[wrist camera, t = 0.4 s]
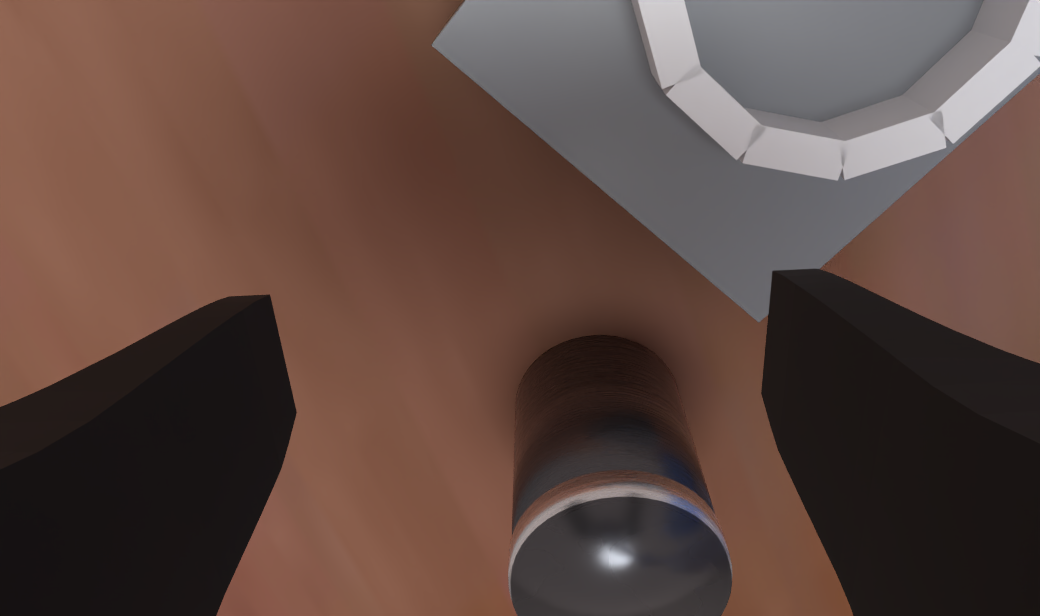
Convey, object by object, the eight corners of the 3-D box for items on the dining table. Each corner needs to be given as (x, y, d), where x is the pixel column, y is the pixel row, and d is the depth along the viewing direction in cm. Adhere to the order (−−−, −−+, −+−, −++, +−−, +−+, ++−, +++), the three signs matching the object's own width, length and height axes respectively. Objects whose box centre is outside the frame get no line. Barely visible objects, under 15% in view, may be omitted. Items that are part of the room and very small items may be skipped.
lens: (714, 398, 23) (781, 580, 17) (601, 497, 25) (624, 694, 19) (591, 302, 22) (616, 461, 16) (480, 413, 24) (462, 596, 18)
